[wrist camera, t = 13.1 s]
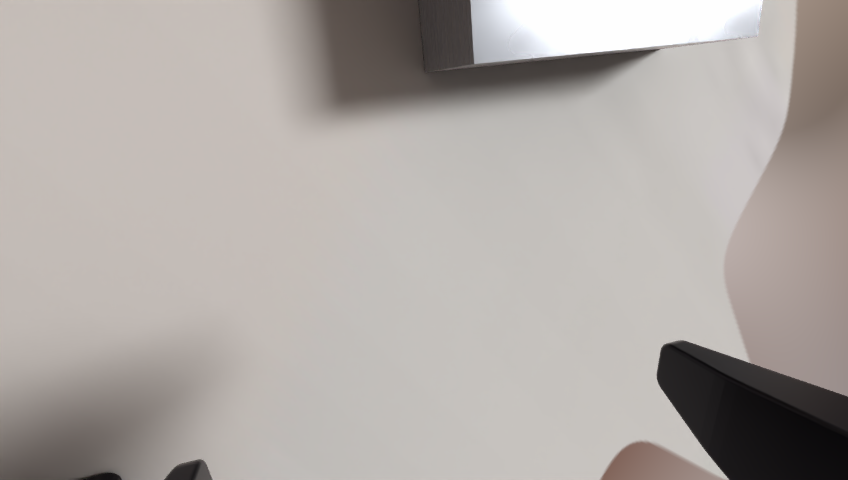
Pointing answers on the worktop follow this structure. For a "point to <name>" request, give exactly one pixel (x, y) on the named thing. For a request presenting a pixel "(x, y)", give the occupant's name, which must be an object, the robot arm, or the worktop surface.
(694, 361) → the robot arm
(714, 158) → the worktop surface
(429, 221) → the worktop surface
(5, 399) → the worktop surface
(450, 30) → the chuck socket
